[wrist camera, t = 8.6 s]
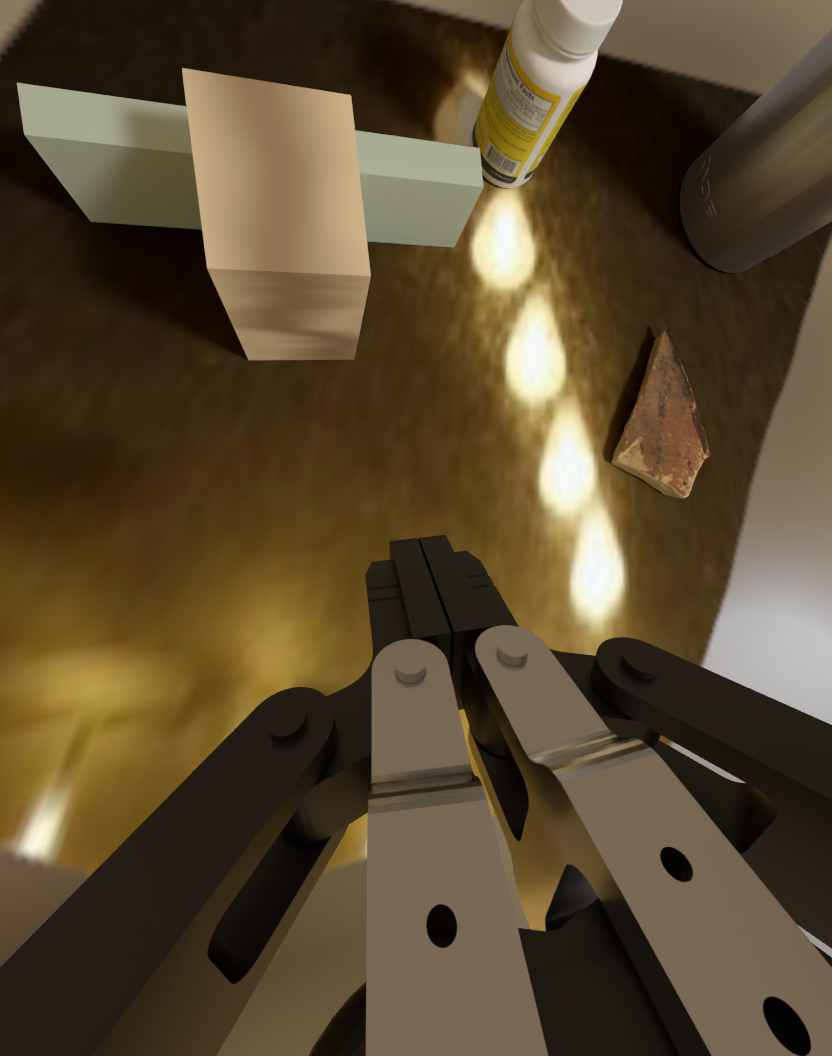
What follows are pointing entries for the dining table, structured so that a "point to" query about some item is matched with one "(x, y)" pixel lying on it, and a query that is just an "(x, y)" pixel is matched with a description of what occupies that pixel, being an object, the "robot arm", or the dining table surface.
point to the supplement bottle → (538, 83)
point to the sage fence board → (169, 176)
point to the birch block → (281, 213)
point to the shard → (664, 426)
